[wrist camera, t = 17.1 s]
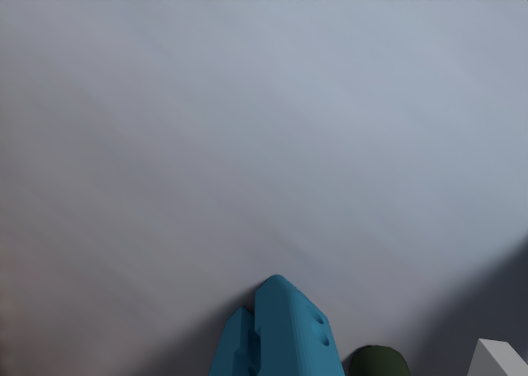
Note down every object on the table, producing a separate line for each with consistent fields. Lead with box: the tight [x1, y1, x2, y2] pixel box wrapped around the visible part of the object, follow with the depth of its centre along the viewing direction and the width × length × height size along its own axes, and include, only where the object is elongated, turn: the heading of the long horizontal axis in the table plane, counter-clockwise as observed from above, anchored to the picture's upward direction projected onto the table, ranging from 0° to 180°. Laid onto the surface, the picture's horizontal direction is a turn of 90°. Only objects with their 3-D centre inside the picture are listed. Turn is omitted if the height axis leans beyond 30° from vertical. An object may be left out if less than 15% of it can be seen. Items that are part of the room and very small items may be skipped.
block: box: [208, 275, 345, 376], centre depth 36 cm, size 12×5×20 cm, turn 137°
